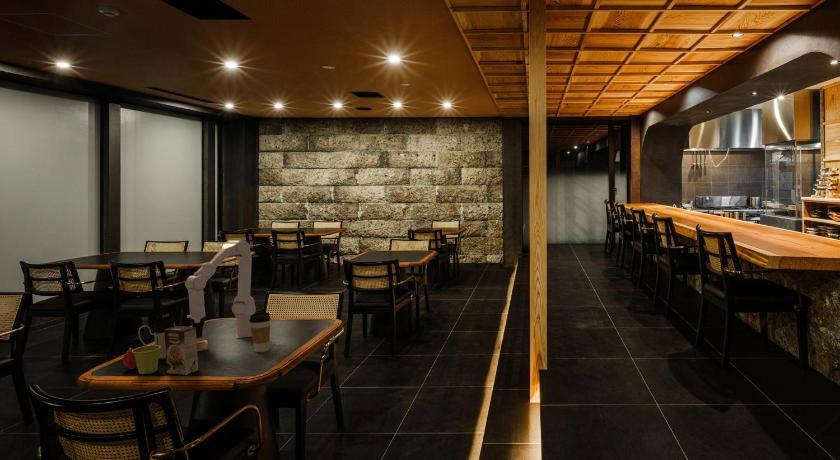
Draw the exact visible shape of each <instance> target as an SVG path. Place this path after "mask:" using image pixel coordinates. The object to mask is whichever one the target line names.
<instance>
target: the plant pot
mask: <svg viewBox="0 0 840 460" xmlns="http://www.w3.org/2000/svg"><path fill="white" fill-rule="evenodd" d="M160 348H161V346H159V345H155V344H151V345H147V346H145V345H144V346H140V347H136V348H134V349H133V350H132V353H133V354H134V356H135V359H136V363H137V366H136V367H137V370H138V371H137V372H138V374H139V375H145V374H148V375H149V374H152V373H155V372H157V371H158V366H159V365H158V364H159V358H158V354H159V350H160Z"/></svg>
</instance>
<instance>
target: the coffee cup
mask: <svg viewBox="0 0 840 460" xmlns="http://www.w3.org/2000/svg"><path fill="white" fill-rule="evenodd" d="M271 320H272V319H271V316H270V312H268V311H261V312H255V313H254V314H253V315H251V316H250V321H249V322H251V332H252V336H251V338H252V344H253V350H254V352H255V353H263V352H264V353H265V352H269V350H270V339H271V337H270V336H271V323H270V322H271Z"/></svg>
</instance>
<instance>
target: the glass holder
mask: <svg viewBox="0 0 840 460" xmlns="http://www.w3.org/2000/svg"><path fill="white" fill-rule="evenodd" d="M175 326H176V324H175V317H174V316H162V317H158V318H154V319H153V328H154V329H153V330H154V332H153V333H152V329H151V328H150V326H148V325H145V324H144V325H141V326H140V327H139V329H138V331H137V333H138V338H139V340H140V341H141V342H140V343H142V344H143V345H144V346H148V344H146V343H145V342H144V341H143V339H142V337H141V334H140V333H141V329H142V328H143V327H147V328H148V330H149V334H150V335H152V336H153V337H154V345H159V346H161V348H160V350H159V354H158V359H166V350H165V335H164V330H165V329H168V328H171V327H175Z"/></svg>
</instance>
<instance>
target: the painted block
mask: <svg viewBox="0 0 840 460" xmlns="http://www.w3.org/2000/svg"><path fill="white" fill-rule="evenodd" d="M204 340H205V329H204V327H203V330H202V337H201V338H196V342H200V341H204Z"/></svg>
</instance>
